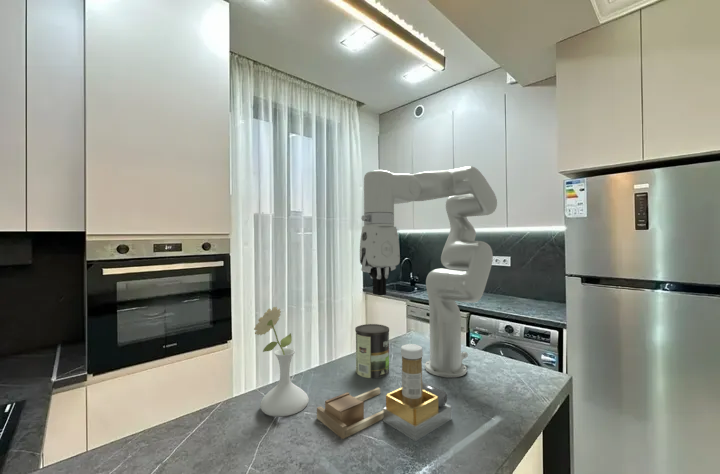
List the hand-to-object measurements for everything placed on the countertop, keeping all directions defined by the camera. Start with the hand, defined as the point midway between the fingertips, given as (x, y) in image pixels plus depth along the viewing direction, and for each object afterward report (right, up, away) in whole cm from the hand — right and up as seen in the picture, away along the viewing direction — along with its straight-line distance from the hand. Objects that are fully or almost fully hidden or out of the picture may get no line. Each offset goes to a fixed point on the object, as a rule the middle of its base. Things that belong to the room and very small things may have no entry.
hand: (379, 294), depth 78 cm
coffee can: (-1, -28, +17) cm, 32 cm away
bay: (-4, -27, -6) cm, 28 cm away
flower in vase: (-24, -27, -3) cm, 36 cm away
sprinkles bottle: (+6, -23, -11) cm, 26 cm away
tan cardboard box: (-8, -26, -10) cm, 29 cm away
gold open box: (+8, -27, -10) cm, 30 cm away
